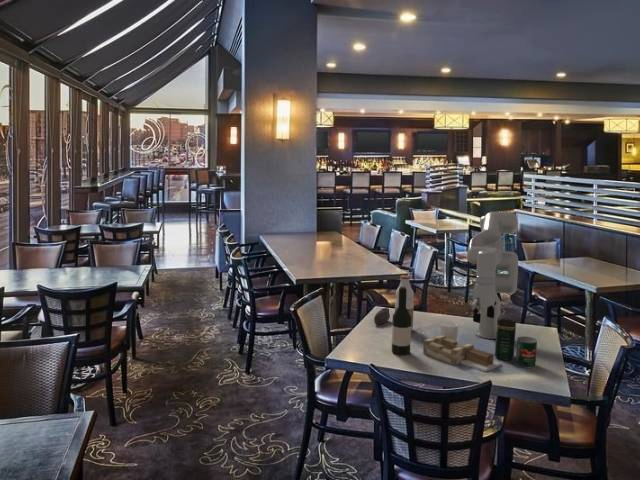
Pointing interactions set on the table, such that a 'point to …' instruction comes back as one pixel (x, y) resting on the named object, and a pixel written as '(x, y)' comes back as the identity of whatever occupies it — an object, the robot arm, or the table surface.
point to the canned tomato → (526, 352)
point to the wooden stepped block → (446, 349)
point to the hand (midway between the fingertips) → (483, 319)
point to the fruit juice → (409, 296)
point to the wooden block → (479, 356)
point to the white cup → (449, 330)
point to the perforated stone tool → (382, 316)
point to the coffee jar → (505, 337)
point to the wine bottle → (401, 326)
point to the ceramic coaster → (480, 366)
